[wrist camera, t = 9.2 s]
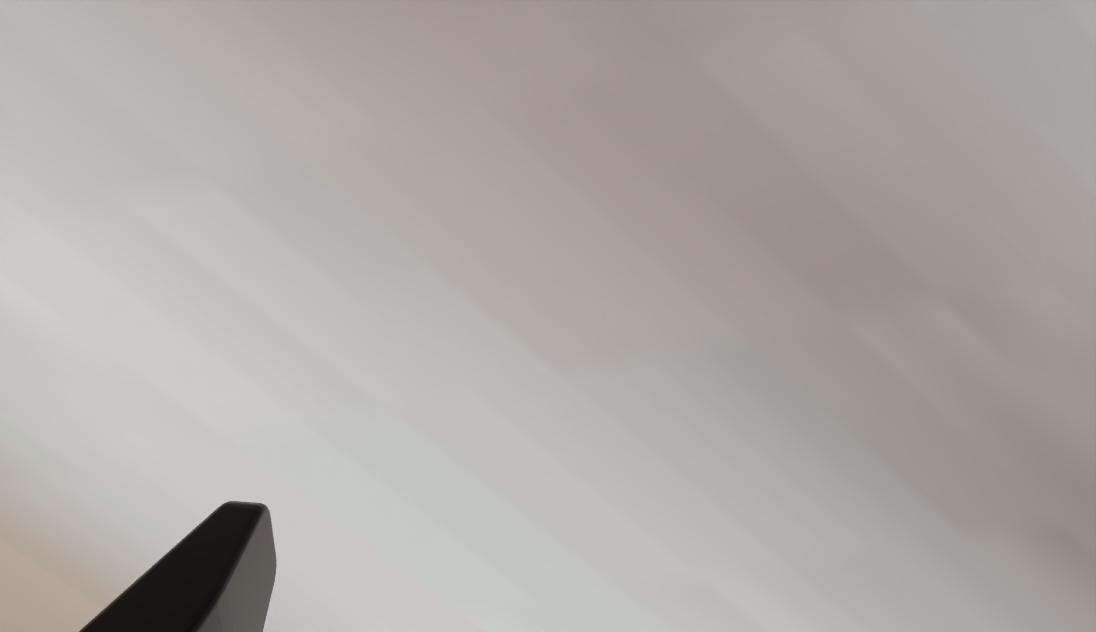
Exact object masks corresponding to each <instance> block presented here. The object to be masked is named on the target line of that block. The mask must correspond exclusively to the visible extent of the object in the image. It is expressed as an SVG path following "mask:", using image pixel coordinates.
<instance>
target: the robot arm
mask: <svg viewBox="0 0 1096 632" xmlns="http://www.w3.org/2000/svg"><path fill="white" fill-rule="evenodd" d="M275 574H276V553H275V546H274V538H273V531H272V524H271V517H270V512H269V510H268V508H267V506H266V505H264V504H261V503H251V502H238V501H229V502H226V503H224V504H222V505H221V506H220V507H218V508H217V509H216V510H215V511H214V512H213V513H212V514H211V515H209V516H208V517H207V518H206V519H205V520H204V521H203V522H202V523H200V524H199V525H198V526H197V527H196V528H195V529H194V530H193V531H191V532H190V533H189V534H188V535H187V536H186V537H185V538H184V539H182V540H181V541H180V542H179V543H178V544H177V545H176V546H175V547H173V548H172V549H171V550H170V551H169V552H168V553H167V554H166V555H164V556H163V557H162V558H161V559H160V560H159V561H158V562H157V563H155V564H154V565H153V566H152V567H151V568H150V569H149V570H148V571H146V572H145V573H144V574H143V575H142V576H141V577H140V578H139V579H137V580H136V581H135V582H134V583H133V584H132V585H131V586H130V587H128V588H127V589H126V590H125V591H124V592H123V593H122V594H121V595H119V596H118V597H117V598H116V599H115V600H114V601H113V602H112V603H110V604H109V605H108V606H107V607H106V608H105V609H104V610H103V611H101V612H100V613H99V614H98V615H97V616H96V617H95V618H94V619H92V620H91V621H90V622H89V623H88V624H87V625H86V626H85V627H83V628H82V629H81V630H80V631H79V632H263V628H264V623H265V619H266V615H267V611H268V607H269V602H270V598H271V594H272V590H273V585H274V581H275Z"/></svg>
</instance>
